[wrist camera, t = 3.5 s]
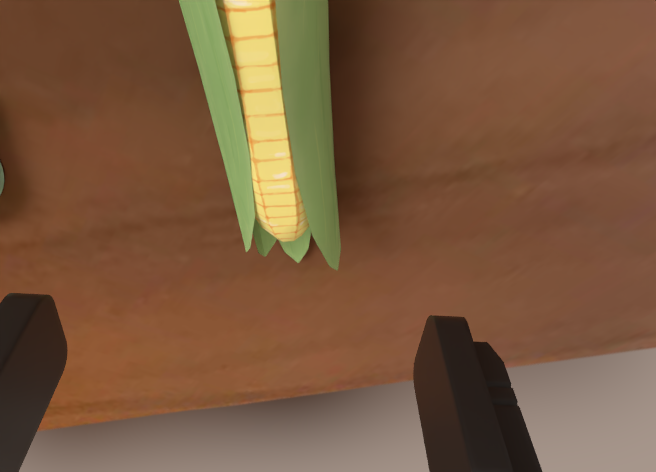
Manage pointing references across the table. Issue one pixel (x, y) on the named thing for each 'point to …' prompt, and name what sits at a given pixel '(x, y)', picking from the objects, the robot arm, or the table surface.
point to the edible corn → (272, 116)
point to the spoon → (1, 178)
